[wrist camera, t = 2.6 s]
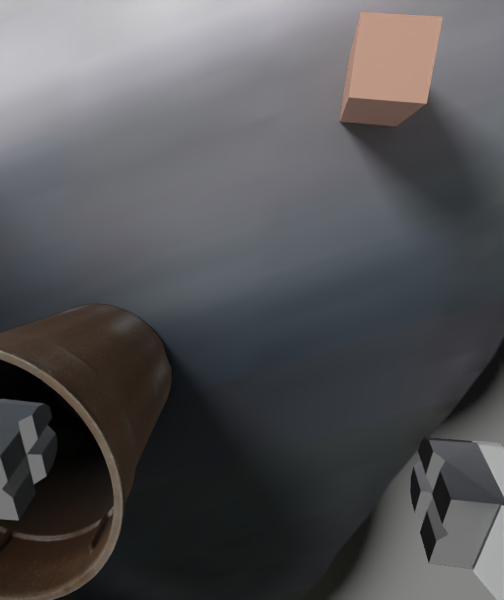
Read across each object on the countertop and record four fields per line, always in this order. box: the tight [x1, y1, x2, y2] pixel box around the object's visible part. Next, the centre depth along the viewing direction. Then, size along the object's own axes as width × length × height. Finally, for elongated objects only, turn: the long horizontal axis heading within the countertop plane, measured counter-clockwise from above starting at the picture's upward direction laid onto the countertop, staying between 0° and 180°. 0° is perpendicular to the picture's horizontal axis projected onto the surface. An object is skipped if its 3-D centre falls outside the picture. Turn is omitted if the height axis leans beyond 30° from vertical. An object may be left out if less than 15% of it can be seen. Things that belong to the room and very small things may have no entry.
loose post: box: [340, 12, 443, 127], centre depth 27 cm, size 4×4×9 cm
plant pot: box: [0, 304, 172, 600], centre depth 32 cm, size 16×16×16 cm
